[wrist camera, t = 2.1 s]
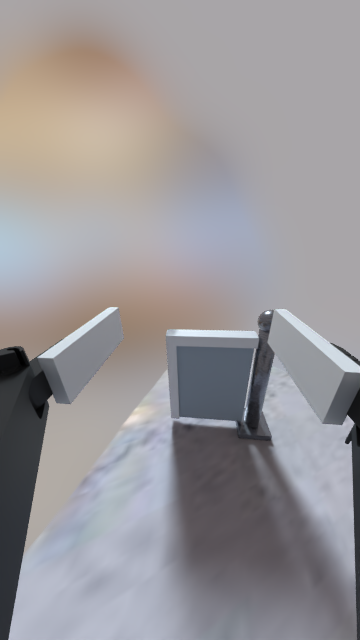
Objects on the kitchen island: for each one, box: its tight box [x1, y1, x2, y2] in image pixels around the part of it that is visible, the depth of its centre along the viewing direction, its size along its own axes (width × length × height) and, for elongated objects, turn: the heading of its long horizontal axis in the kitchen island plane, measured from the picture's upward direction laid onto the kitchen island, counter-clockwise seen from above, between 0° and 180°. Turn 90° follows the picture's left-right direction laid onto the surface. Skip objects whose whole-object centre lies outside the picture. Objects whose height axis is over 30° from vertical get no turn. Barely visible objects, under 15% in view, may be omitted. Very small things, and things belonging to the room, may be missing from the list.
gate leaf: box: [166, 329, 259, 421], centre depth 28 cm, size 12×2×17 cm, turn 84°
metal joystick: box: [236, 310, 275, 440], centre depth 27 cm, size 5×5×22 cm
